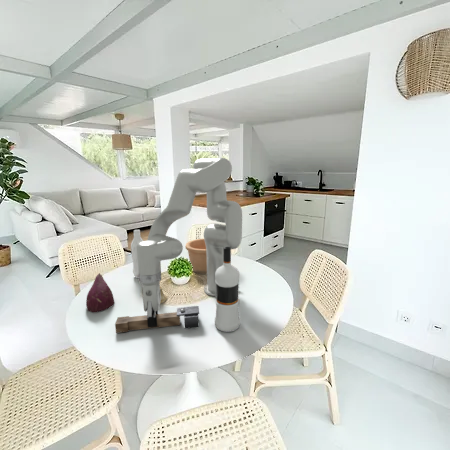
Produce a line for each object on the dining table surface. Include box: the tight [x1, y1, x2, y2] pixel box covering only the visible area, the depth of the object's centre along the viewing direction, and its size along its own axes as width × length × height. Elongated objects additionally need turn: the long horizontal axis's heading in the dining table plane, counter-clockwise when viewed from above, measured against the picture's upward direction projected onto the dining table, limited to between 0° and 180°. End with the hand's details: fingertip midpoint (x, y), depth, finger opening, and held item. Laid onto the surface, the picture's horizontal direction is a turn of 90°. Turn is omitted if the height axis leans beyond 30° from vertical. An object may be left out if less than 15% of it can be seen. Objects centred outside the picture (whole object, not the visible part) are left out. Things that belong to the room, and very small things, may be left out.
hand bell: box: [160, 286, 168, 305], centre depth 108 cm, size 8×8×16 cm
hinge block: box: [176, 305, 200, 330], centre depth 93 cm, size 8×7×6 cm
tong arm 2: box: [115, 311, 177, 322], centre depth 92 cm, size 22×2×4 cm, turn 100°
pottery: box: [185, 238, 207, 275], centre depth 142 cm, size 22×22×14 cm
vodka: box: [214, 246, 241, 333], centre depth 89 cm, size 9×9×30 cm
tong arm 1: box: [114, 315, 181, 334], centre depth 90 cm, size 22×2×4 cm, turn 100°
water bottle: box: [130, 229, 144, 279], centre depth 130 cm, size 7×7×25 cm
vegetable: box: [85, 273, 115, 314], centre depth 105 cm, size 10×10×15 cm
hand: (153, 322), depth 91 cm, fingers open, 3 cm apart
